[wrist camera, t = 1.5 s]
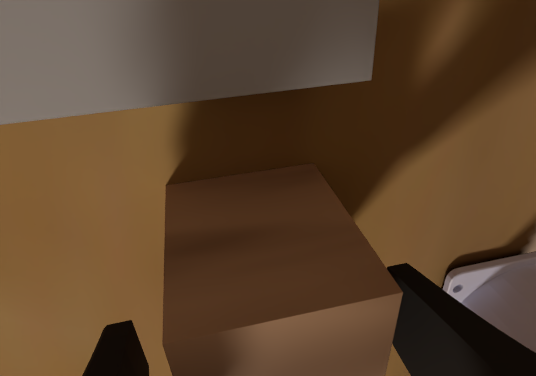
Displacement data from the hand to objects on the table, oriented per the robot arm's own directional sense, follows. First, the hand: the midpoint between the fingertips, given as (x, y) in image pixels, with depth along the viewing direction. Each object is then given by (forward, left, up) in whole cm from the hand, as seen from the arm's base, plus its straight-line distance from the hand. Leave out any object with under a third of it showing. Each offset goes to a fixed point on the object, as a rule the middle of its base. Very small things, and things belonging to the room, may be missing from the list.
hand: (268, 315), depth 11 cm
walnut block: (0, 0, -4) cm, 4 cm away
